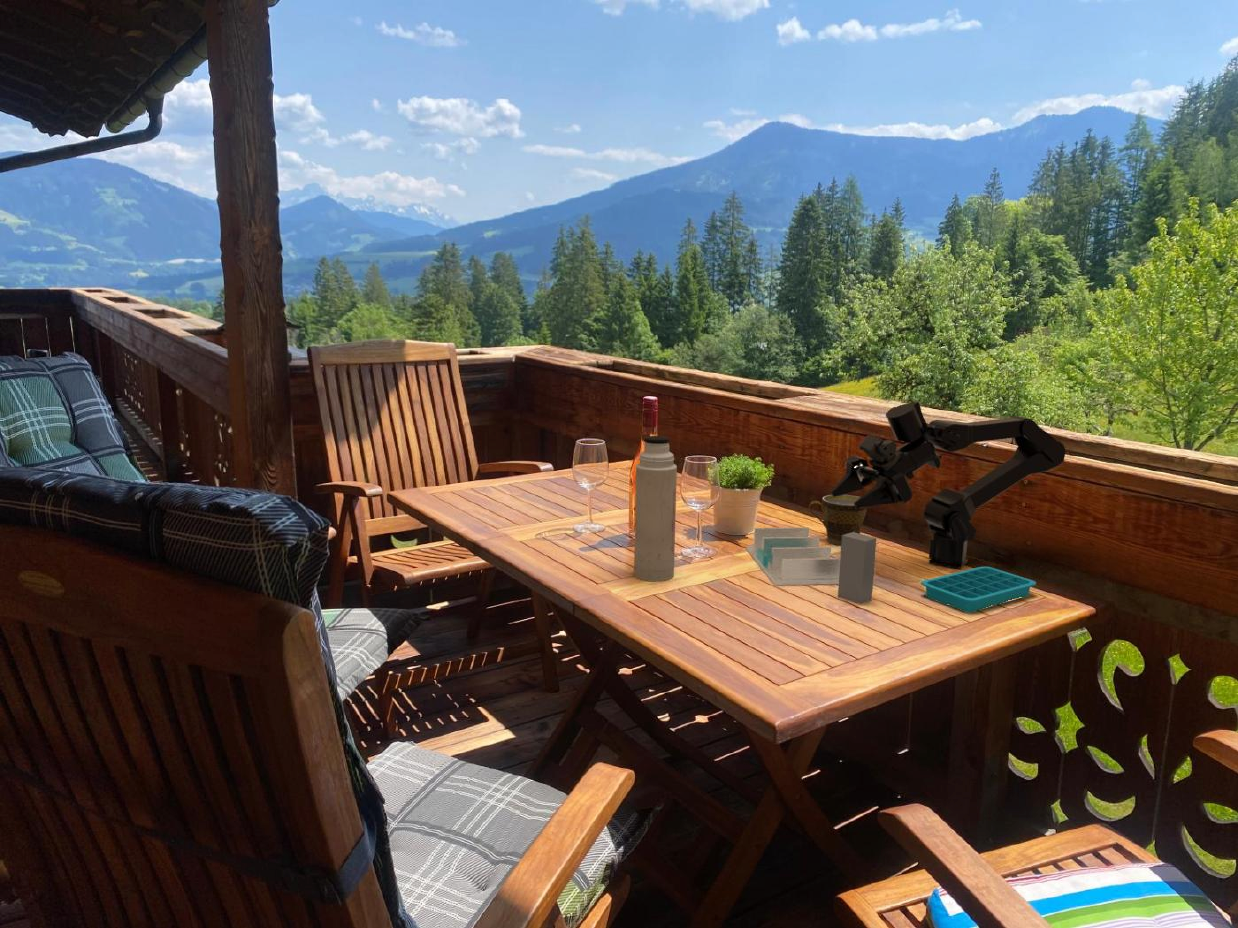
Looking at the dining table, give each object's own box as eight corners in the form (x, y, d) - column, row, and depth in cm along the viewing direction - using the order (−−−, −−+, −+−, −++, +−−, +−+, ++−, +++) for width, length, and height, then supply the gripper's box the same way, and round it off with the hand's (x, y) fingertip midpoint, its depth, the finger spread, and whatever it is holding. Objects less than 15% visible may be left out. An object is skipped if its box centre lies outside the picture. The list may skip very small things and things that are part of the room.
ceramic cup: (860, 536, 200) (863, 495, 198) (868, 549, 190) (871, 505, 188) (804, 534, 201) (806, 493, 199) (809, 546, 191) (811, 503, 189)
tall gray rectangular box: (848, 592, 163) (853, 532, 160) (871, 600, 159) (876, 538, 156) (837, 596, 160) (842, 535, 158) (860, 604, 157) (865, 541, 154)
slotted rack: (812, 548, 190) (814, 526, 189) (849, 583, 167) (851, 559, 166) (746, 549, 189) (747, 527, 188) (774, 585, 166) (776, 560, 165)
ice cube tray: (916, 597, 162) (917, 582, 161) (984, 579, 172) (985, 565, 172) (969, 617, 152) (970, 601, 152) (1037, 597, 162) (1039, 582, 162)
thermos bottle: (676, 570, 174) (680, 434, 169) (670, 582, 167) (674, 441, 161) (637, 566, 176) (640, 432, 170) (630, 579, 168) (633, 439, 162)
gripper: (867, 419, 180) (806, 457, 178) (918, 434, 162) (851, 476, 161) (886, 463, 183) (827, 501, 181) (939, 482, 166) (874, 524, 164)
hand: (843, 499), depth 172 cm, fingers open, 9 cm apart
